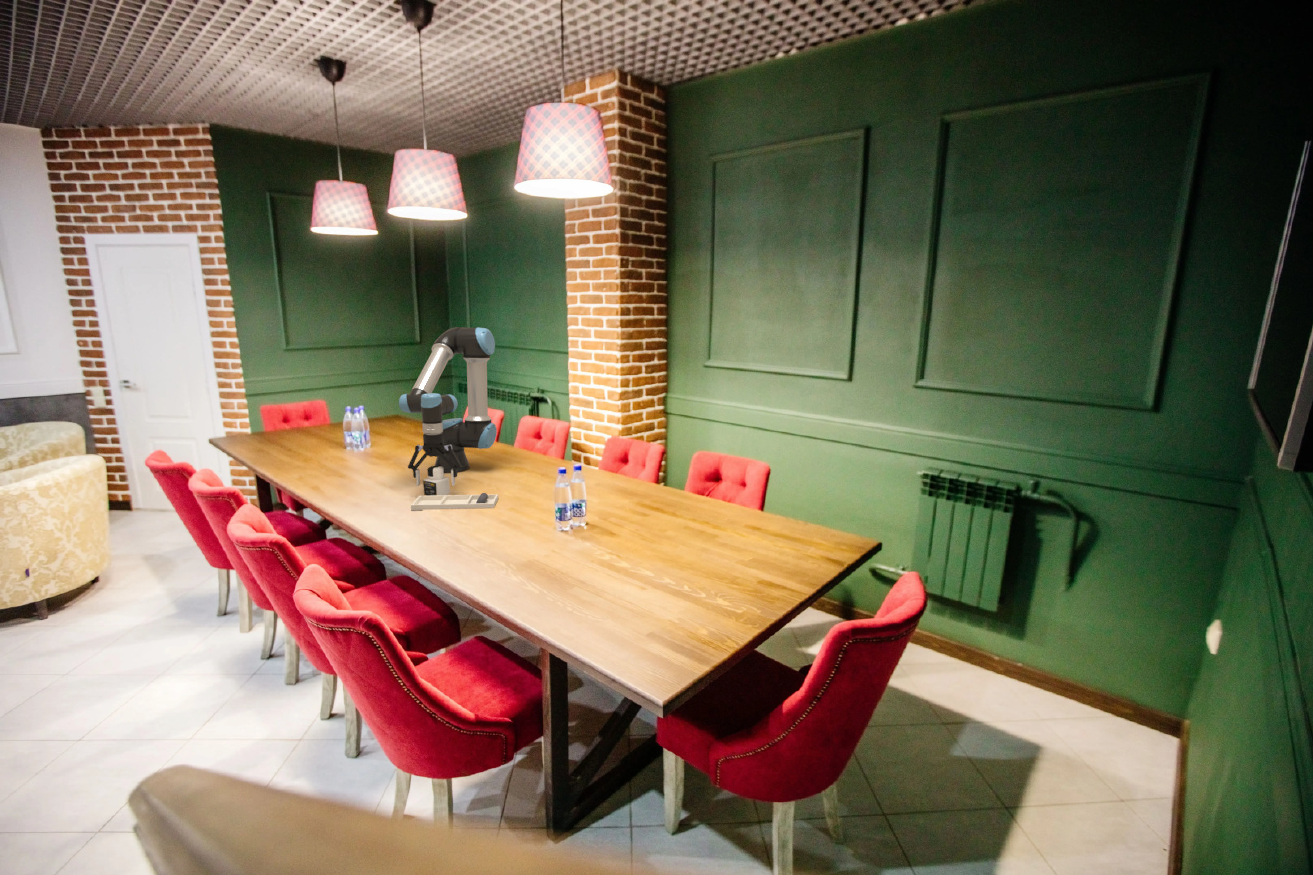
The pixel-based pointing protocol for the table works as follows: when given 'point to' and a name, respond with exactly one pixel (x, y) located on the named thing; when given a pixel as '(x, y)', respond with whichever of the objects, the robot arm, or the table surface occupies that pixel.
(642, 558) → the table surface
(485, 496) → the grey cylinder
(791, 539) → the table surface
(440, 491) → the medicine bottle
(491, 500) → the organiser
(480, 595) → the table surface
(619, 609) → the table surface
